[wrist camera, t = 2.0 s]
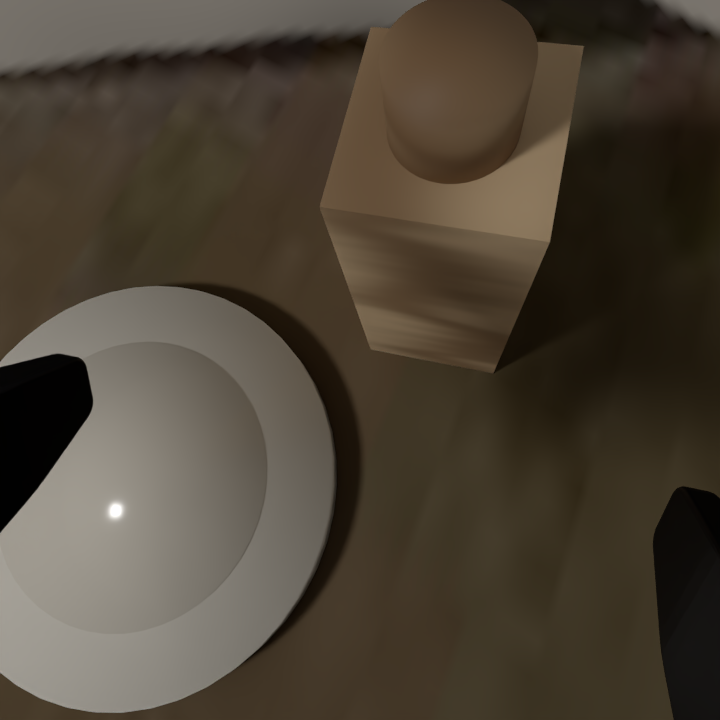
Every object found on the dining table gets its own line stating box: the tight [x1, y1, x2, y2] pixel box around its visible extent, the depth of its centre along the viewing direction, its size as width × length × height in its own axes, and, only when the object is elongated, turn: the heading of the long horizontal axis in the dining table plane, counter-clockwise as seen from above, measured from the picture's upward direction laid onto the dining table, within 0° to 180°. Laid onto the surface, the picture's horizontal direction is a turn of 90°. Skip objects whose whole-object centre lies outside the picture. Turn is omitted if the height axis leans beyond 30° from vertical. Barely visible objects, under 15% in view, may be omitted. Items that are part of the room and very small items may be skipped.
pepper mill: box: [320, 0, 584, 373], centre depth 17 cm, size 5×5×13 cm
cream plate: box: [0, 286, 337, 713], centre depth 22 cm, size 16×16×1 cm
